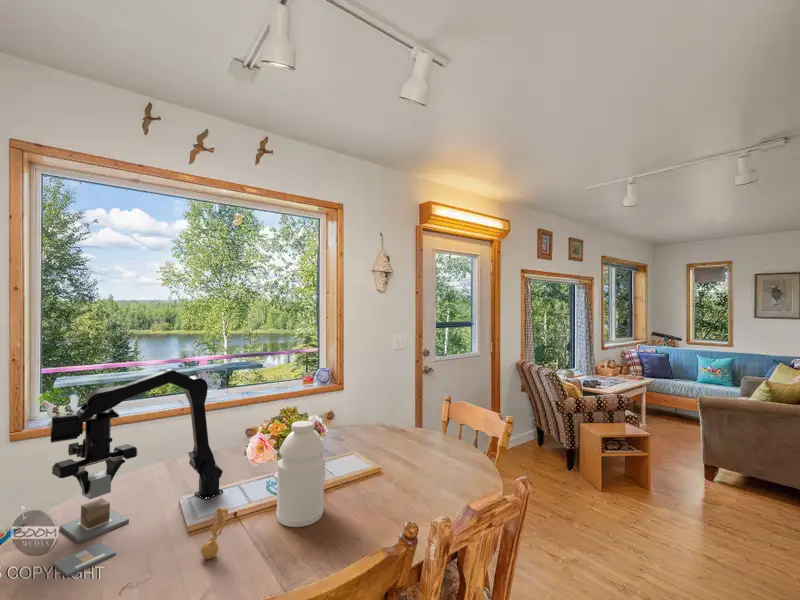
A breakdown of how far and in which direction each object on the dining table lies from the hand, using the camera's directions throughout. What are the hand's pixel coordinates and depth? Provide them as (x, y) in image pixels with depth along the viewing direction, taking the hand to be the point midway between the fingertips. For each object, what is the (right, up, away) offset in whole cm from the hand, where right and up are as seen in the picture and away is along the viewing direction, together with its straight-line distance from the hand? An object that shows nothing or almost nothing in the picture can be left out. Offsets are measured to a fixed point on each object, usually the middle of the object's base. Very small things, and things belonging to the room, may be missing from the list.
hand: (96, 489), depth 113 cm
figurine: (+39, -11, -12) cm, 42 cm away
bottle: (+56, -12, +8) cm, 58 cm away
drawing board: (+8, -10, -15) cm, 20 cm away
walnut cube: (0, -9, 0) cm, 9 cm away
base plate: (0, -10, 0) cm, 10 cm away
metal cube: (0, -1, 0) cm, 1 cm away
